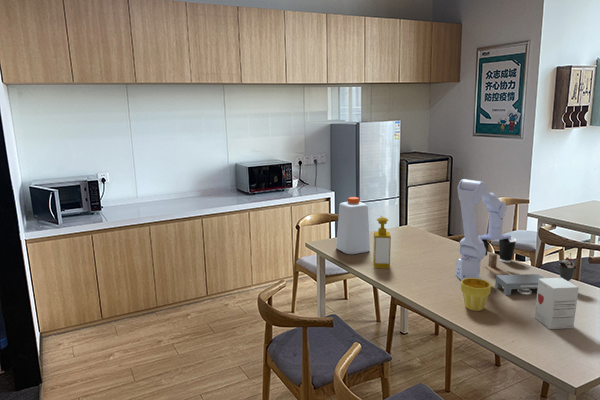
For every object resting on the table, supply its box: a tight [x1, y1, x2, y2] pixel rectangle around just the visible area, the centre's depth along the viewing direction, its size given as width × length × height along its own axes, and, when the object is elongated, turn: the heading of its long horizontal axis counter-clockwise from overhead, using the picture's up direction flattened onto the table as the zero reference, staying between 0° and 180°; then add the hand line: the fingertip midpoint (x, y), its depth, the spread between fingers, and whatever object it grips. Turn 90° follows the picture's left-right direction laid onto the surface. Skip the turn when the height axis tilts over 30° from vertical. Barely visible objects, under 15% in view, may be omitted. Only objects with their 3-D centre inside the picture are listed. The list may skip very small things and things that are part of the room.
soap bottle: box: [372, 215, 392, 269], centre depth 215 cm, size 7×13×24 cm, turn 174°
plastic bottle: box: [335, 196, 371, 255], centre depth 235 cm, size 15×15×28 cm
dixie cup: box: [498, 237, 518, 263], centre depth 218 cm, size 8×8×11 cm
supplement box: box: [534, 277, 580, 330], centre depth 155 cm, size 9×9×15 cm
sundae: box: [557, 252, 578, 282], centre depth 184 cm, size 7×7×15 cm
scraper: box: [483, 252, 511, 277], centre depth 200 cm, size 6×22×7 cm, turn 3°
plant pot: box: [460, 278, 492, 312], centre depth 168 cm, size 10×10×10 cm
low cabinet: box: [494, 273, 545, 296], centre depth 183 cm, size 18×10×5 cm, turn 93°
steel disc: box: [517, 289, 532, 296], centre depth 182 cm, size 5×5×1 cm
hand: (493, 254), depth 208 cm, fingers open, 7 cm apart
